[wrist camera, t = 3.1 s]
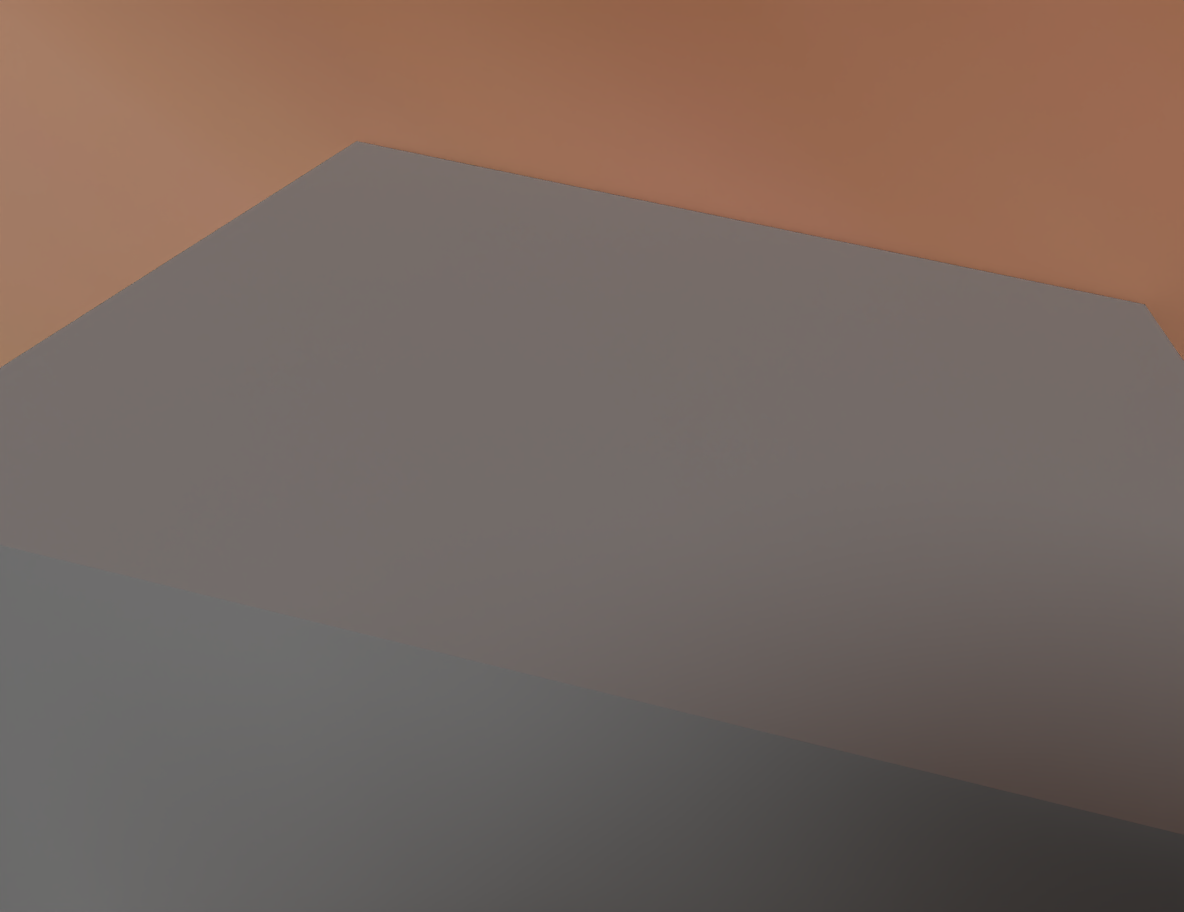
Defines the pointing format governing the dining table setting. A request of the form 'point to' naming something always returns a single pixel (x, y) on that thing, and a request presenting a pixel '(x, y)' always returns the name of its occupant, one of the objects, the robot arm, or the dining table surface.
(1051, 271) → the dining table surface
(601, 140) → the dining table surface
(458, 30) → the dining table surface
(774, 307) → the gray block
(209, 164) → the dining table surface
